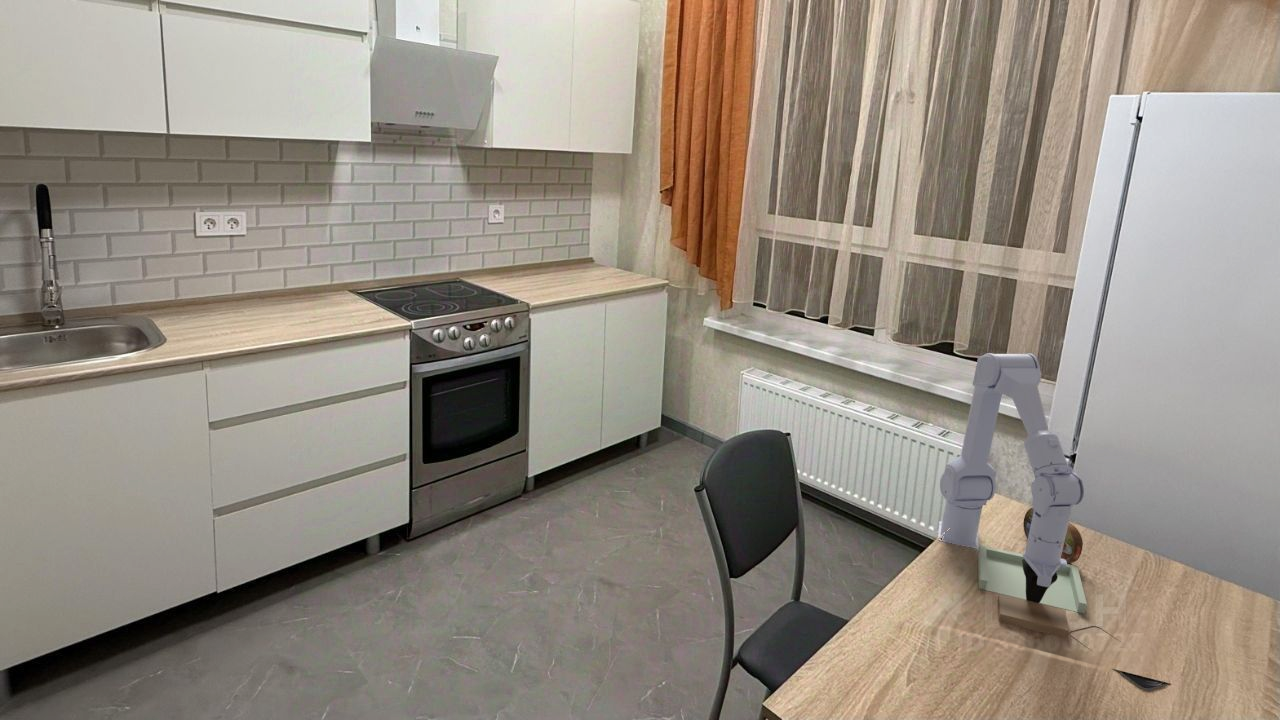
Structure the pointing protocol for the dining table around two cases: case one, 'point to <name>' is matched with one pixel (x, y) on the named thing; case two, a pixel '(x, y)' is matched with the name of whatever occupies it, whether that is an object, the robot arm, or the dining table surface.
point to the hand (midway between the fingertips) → (1032, 600)
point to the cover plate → (1033, 616)
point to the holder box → (1008, 578)
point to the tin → (1071, 542)
